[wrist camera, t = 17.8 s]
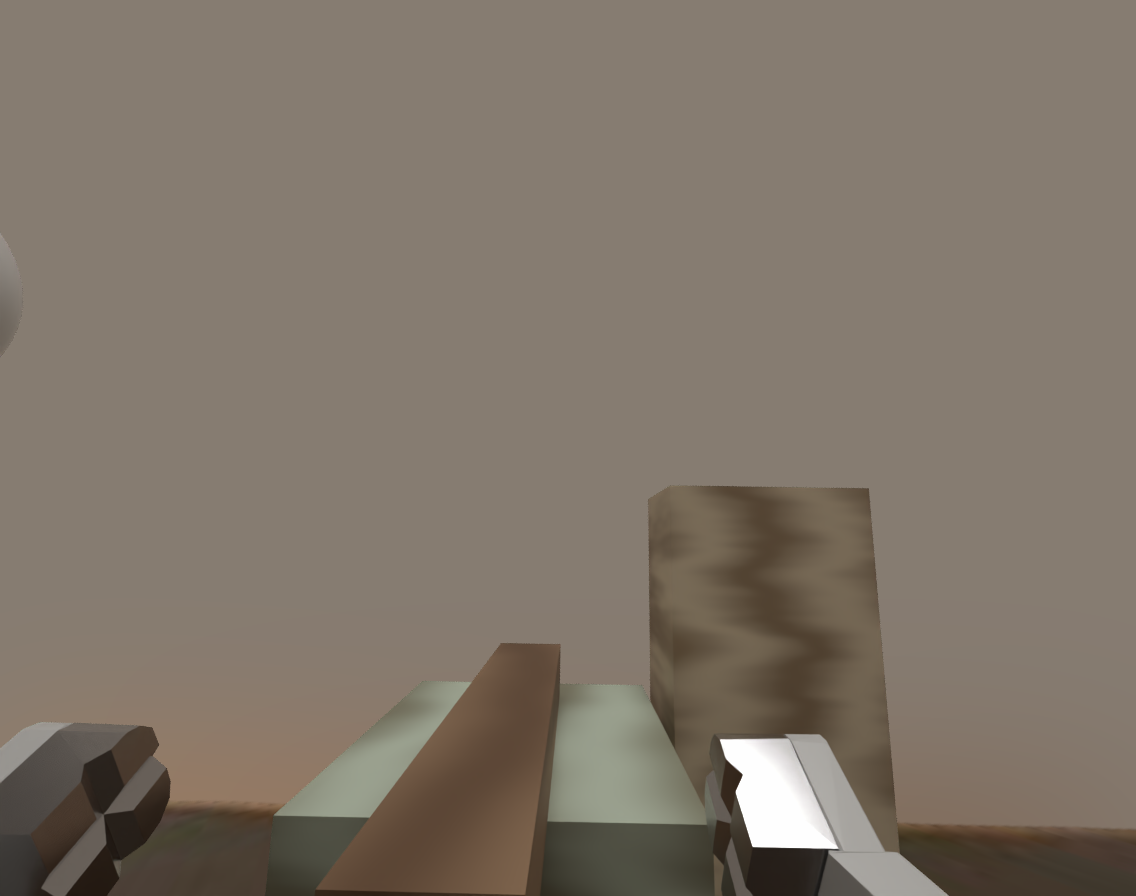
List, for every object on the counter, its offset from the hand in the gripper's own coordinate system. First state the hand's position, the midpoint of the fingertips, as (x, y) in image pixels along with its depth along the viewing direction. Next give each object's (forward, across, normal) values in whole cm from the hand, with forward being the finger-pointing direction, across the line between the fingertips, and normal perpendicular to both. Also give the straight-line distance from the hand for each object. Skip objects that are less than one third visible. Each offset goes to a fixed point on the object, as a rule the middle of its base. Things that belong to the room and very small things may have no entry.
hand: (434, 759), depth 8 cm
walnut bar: (+7, 0, +9) cm, 11 cm away
